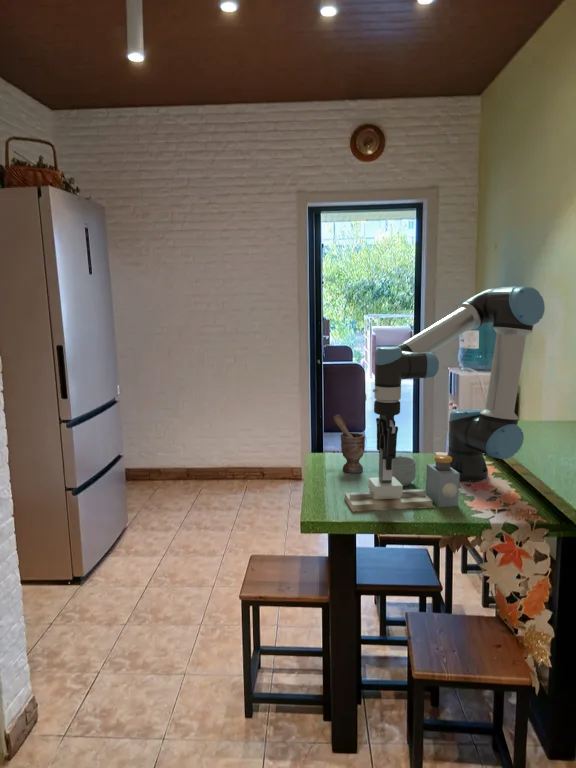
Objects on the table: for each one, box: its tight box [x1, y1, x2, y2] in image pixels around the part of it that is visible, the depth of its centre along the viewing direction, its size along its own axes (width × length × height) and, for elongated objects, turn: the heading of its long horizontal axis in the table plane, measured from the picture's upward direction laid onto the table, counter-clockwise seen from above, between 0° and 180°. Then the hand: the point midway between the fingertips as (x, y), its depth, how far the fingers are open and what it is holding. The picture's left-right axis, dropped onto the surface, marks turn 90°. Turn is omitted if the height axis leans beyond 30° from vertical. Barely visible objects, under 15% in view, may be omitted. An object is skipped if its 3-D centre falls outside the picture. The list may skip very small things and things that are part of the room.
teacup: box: [392, 454, 417, 487], centre depth 178 cm, size 14×11×8 cm
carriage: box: [367, 448, 404, 499], centre depth 158 cm, size 8×8×14 cm
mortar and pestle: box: [332, 413, 366, 474], centre depth 190 cm, size 12×9×20 cm
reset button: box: [433, 454, 452, 471], centre depth 160 cm, size 5×5×7 cm
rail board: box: [344, 488, 434, 513], centre depth 159 cm, size 24×10×4 cm, turn 97°
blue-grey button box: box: [425, 463, 460, 508], centre depth 160 cm, size 6×10×10 cm, turn 7°
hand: (385, 477), depth 158 cm, fingers closed on carriage, 3 cm apart
